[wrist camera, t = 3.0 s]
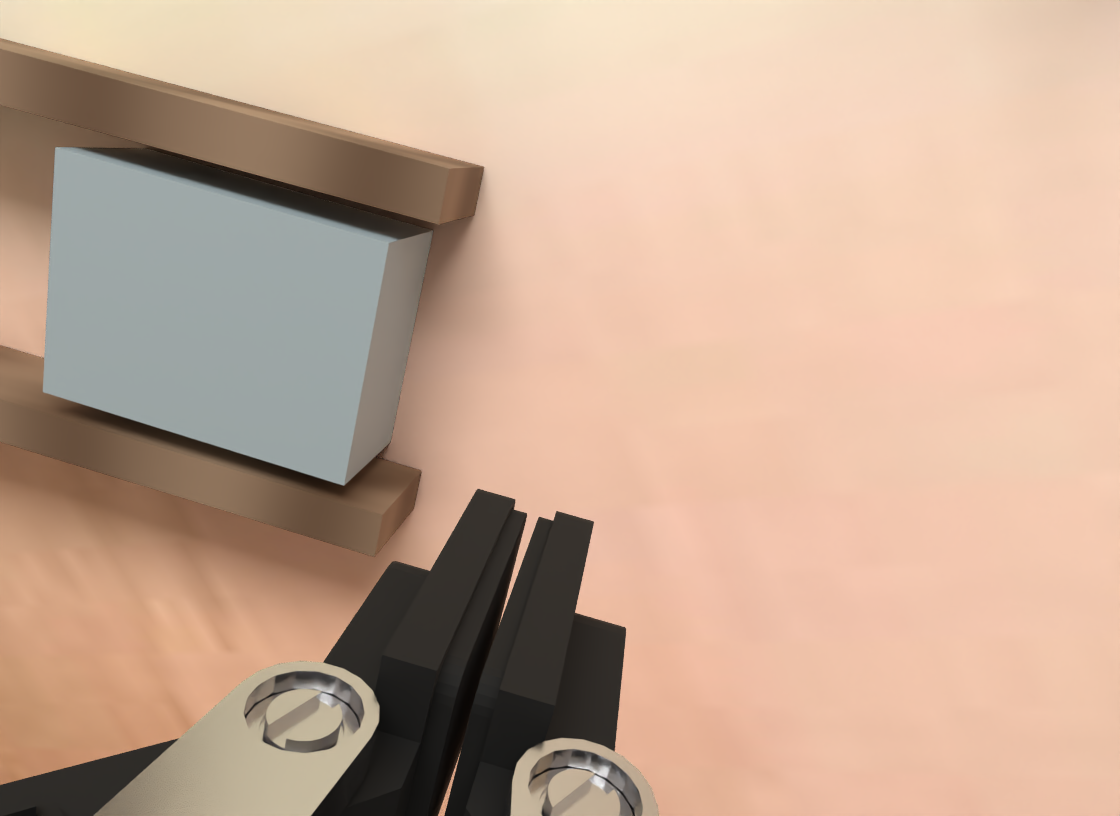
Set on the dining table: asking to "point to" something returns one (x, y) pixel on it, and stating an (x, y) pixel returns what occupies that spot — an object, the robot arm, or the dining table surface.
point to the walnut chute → (262, 149)
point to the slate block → (229, 308)
